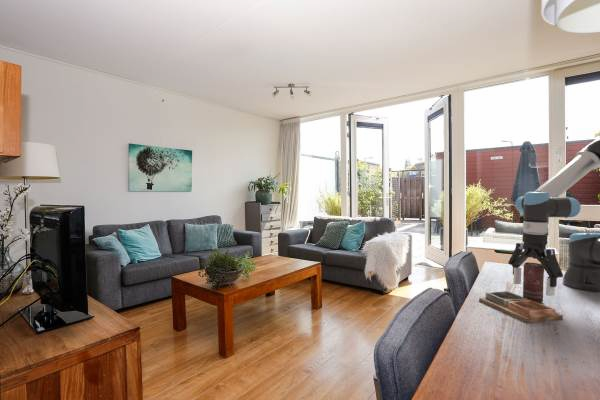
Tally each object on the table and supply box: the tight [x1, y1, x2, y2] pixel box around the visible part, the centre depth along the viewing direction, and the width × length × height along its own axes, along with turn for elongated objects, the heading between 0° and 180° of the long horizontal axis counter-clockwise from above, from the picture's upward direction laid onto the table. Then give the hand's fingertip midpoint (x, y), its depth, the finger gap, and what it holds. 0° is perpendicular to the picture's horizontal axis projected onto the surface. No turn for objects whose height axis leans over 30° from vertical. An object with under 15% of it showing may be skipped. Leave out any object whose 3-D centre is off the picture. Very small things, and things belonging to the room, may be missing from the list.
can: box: [522, 262, 545, 304], centre depth 121 cm, size 6×6×14 cm
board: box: [478, 290, 564, 324], centre depth 113 cm, size 14×20×3 cm
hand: (532, 289), depth 121 cm, fingers open, 13 cm apart
